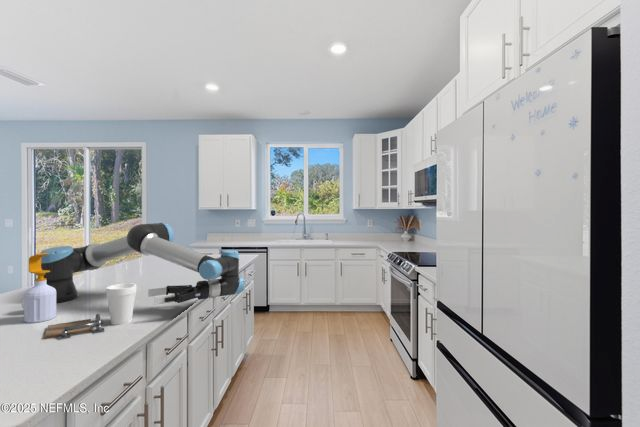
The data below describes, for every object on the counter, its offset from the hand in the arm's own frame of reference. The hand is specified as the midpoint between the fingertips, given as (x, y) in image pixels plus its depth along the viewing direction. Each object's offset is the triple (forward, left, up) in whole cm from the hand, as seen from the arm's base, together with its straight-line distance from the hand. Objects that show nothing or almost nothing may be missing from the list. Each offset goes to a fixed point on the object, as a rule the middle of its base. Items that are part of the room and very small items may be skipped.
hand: (151, 296), depth 123 cm
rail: (+2, -21, -8) cm, 23 cm away
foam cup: (0, -10, -8) cm, 12 cm away
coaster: (-1, -25, -8) cm, 26 cm away
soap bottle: (-20, -34, -8) cm, 40 cm away
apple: (-32, -37, -8) cm, 49 cm away
